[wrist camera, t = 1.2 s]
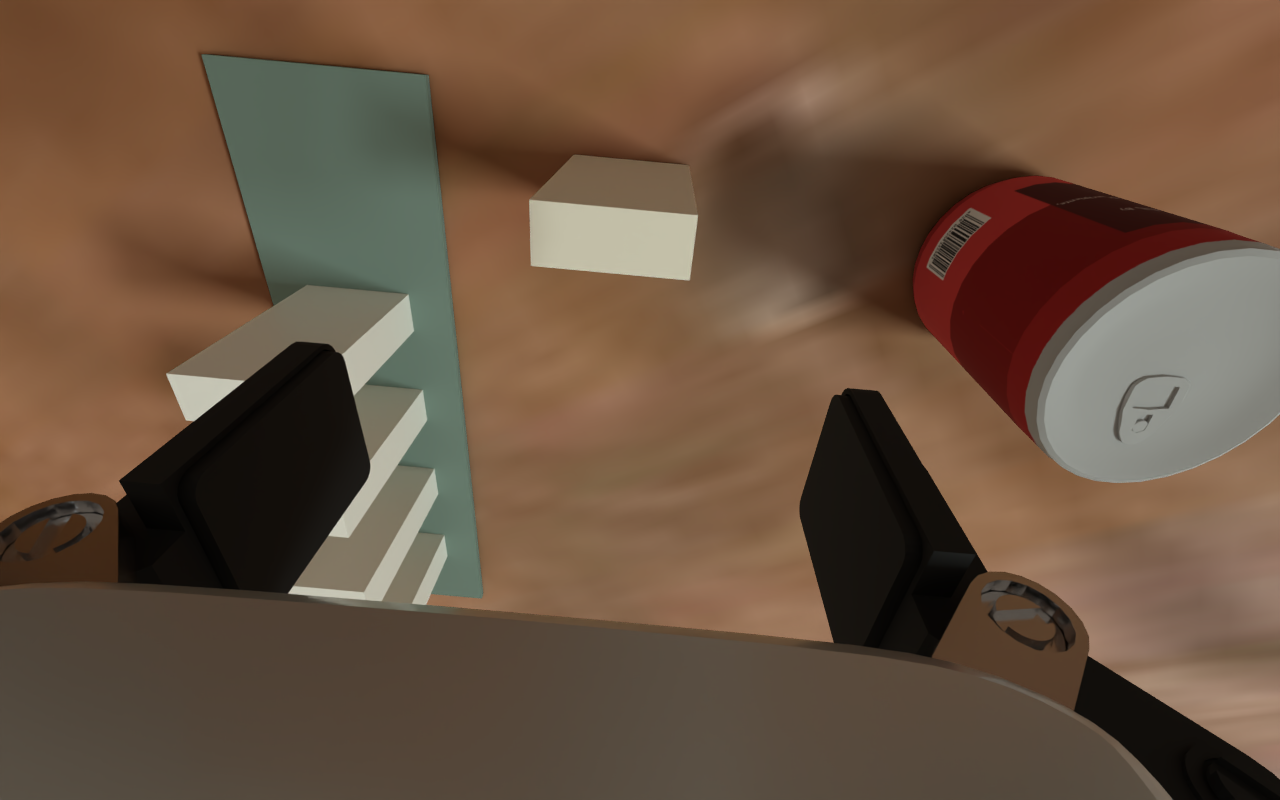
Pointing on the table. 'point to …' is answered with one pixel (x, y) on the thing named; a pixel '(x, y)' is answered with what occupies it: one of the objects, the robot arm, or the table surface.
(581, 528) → the table surface
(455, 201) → the table surface
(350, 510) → the domino
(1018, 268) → the canned food
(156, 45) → the table surface
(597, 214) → the domino
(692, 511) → the table surface
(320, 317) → the domino
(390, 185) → the plate
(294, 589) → the domino
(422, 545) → the domino
